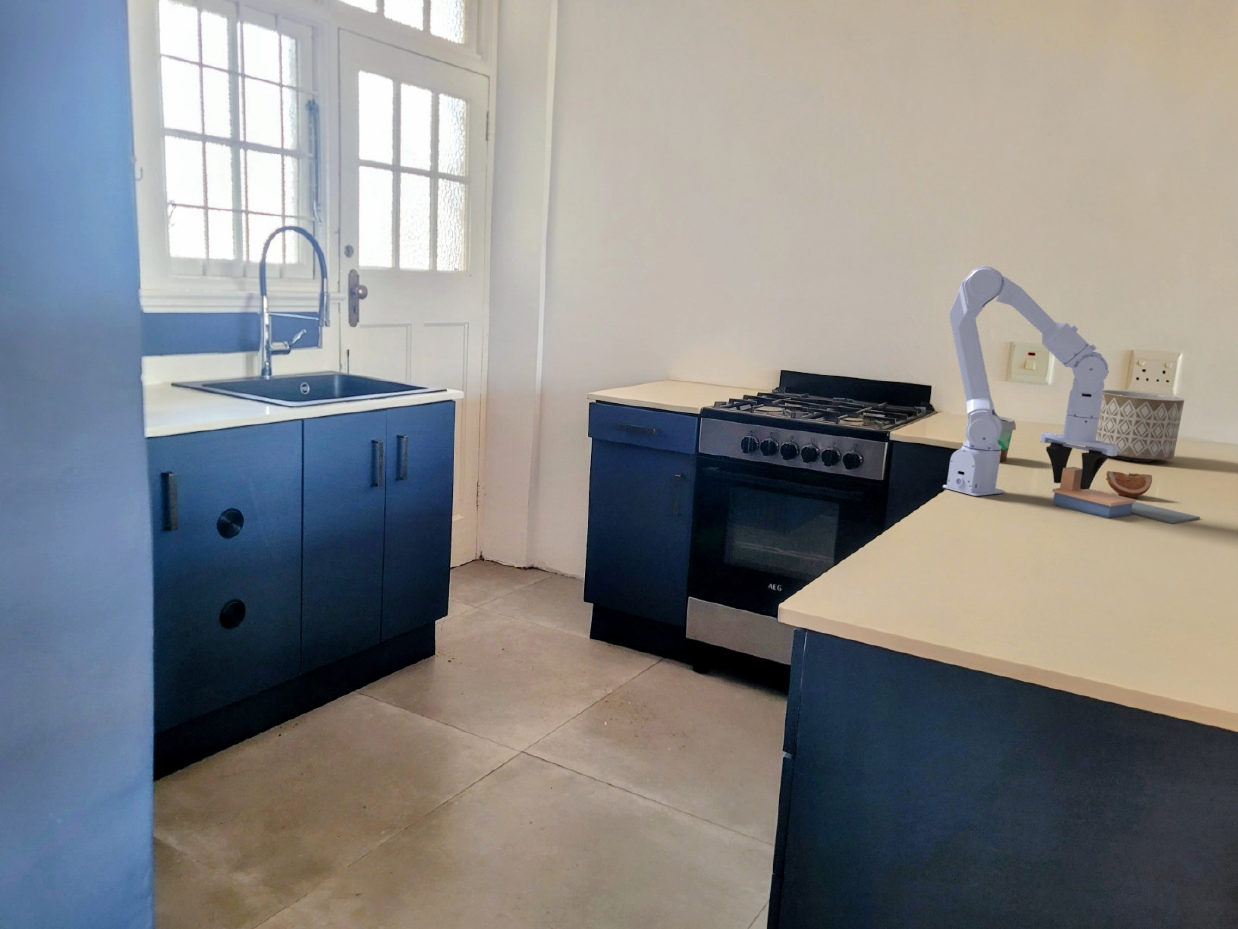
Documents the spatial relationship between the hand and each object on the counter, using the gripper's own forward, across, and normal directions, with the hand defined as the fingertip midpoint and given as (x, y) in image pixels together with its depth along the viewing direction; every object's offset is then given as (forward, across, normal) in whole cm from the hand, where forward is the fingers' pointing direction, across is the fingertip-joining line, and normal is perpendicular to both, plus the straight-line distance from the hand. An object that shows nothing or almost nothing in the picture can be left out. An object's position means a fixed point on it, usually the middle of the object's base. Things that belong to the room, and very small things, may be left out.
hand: (1071, 485), depth 181 cm
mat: (+4, -11, -10) cm, 15 cm away
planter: (+4, +27, -72) cm, 77 cm away
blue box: (+4, -5, 0) cm, 6 cm away
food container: (+4, +36, -29) cm, 47 cm away
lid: (+1, -5, 0) cm, 5 cm away
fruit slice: (+4, 0, -21) cm, 21 cm away
